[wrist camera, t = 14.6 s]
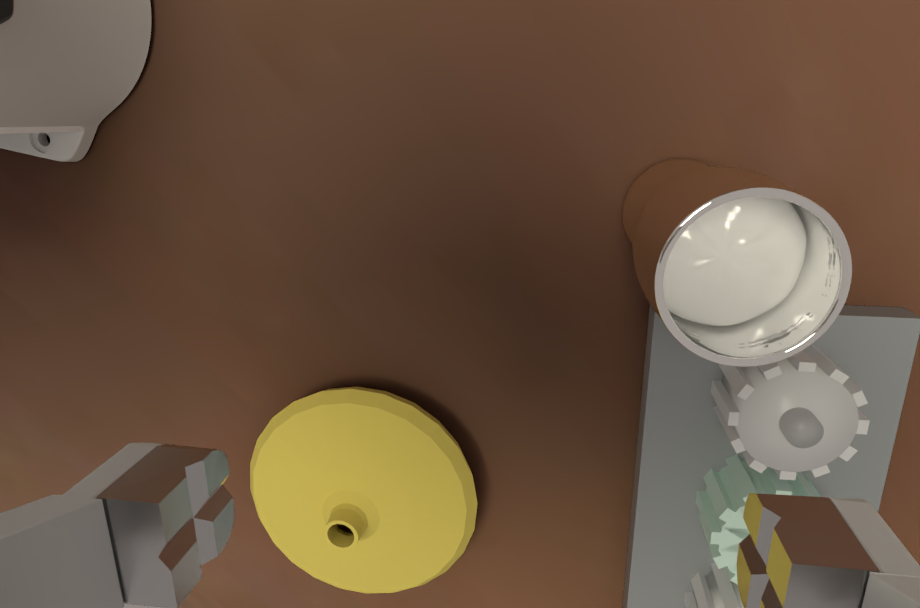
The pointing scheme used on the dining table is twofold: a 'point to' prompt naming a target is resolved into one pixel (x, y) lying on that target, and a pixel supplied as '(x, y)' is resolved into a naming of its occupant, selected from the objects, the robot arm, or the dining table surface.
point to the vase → (363, 490)
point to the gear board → (708, 444)
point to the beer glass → (735, 261)
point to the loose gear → (738, 505)
